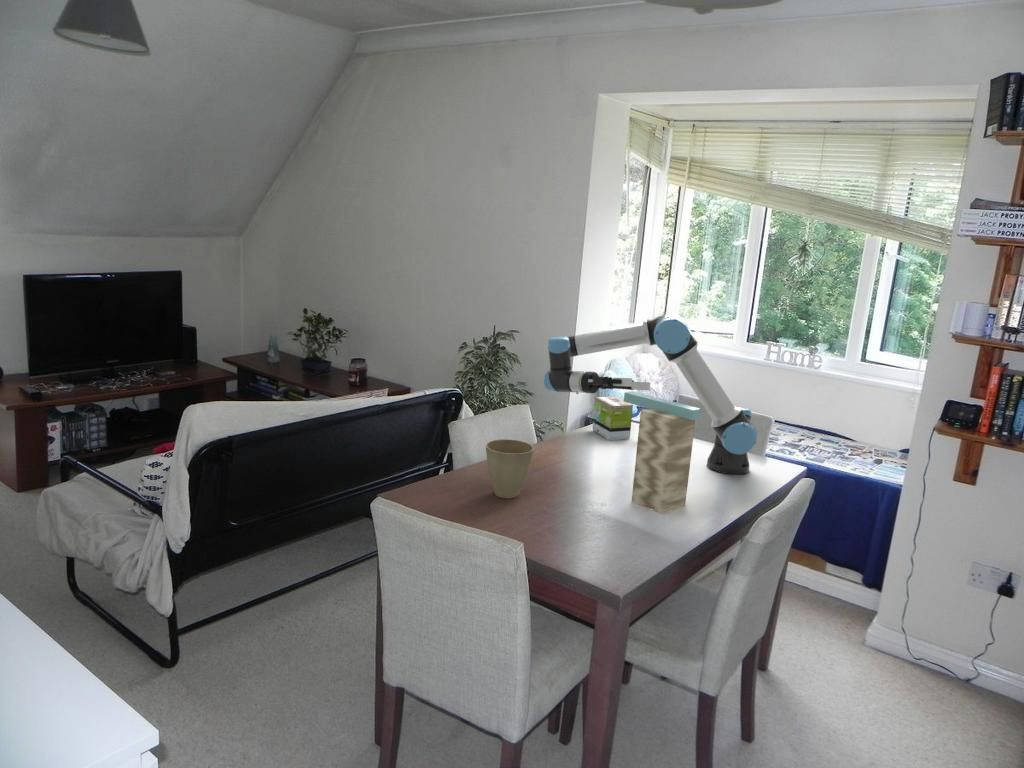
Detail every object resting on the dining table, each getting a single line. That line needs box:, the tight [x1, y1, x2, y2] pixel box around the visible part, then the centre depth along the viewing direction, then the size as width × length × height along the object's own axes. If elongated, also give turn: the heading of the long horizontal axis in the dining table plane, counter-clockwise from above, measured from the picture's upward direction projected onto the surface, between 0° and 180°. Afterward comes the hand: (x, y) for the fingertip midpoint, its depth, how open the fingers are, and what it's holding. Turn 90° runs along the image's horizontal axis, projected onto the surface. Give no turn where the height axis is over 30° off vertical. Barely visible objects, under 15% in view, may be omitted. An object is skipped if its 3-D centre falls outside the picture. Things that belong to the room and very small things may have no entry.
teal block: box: [623, 390, 702, 421], centre depth 243 cm, size 26×4×3 cm, turn 43°
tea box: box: [592, 395, 634, 441], centre depth 323 cm, size 15×10×15 cm
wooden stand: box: [631, 408, 696, 515], centre depth 245 cm, size 12×12×30 cm
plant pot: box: [485, 438, 534, 499], centre depth 245 cm, size 15×15×16 cm
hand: (640, 384), depth 261 cm, fingers open, 13 cm apart
